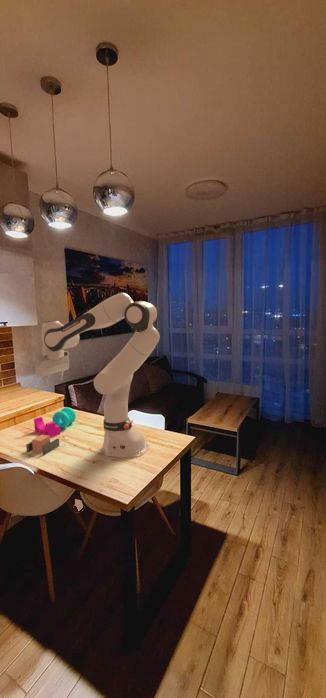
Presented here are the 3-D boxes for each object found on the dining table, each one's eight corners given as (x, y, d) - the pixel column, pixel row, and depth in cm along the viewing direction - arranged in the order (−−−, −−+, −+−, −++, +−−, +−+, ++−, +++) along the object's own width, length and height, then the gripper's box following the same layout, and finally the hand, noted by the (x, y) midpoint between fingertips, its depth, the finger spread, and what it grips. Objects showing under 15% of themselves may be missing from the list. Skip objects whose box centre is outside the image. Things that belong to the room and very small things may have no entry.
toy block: (60, 434, 156) (59, 421, 156) (49, 438, 152) (48, 424, 151) (45, 428, 166) (44, 415, 165) (34, 431, 161) (33, 418, 160)
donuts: (51, 429, 164) (50, 411, 163) (61, 422, 174) (60, 406, 173) (68, 430, 162) (66, 412, 161) (77, 423, 172) (76, 407, 171)
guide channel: (59, 445, 143) (59, 438, 142) (44, 455, 133) (44, 447, 133) (42, 442, 146) (41, 436, 146) (26, 451, 137) (26, 444, 136)
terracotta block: (50, 447, 141) (49, 435, 140) (41, 453, 135) (40, 440, 134) (42, 446, 142) (41, 434, 142) (33, 451, 137) (32, 439, 136)
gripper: (42, 357, 132) (43, 387, 134) (70, 352, 151) (71, 378, 153) (31, 356, 134) (32, 386, 136) (60, 351, 153) (61, 377, 155)
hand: (53, 382), depth 144 cm, fingers open, 8 cm apart
